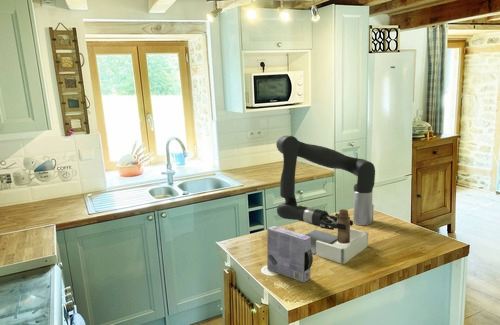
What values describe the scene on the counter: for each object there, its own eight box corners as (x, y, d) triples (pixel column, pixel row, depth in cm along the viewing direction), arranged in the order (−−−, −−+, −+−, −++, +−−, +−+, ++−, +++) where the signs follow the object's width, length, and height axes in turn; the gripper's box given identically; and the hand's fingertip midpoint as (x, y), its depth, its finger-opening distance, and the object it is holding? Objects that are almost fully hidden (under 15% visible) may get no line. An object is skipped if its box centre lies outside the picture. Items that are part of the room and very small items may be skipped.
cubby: (341, 239, 175) (341, 225, 174) (367, 247, 166) (368, 232, 165) (316, 256, 160) (315, 241, 159) (343, 265, 151) (343, 249, 150)
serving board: (314, 231, 186) (314, 229, 186) (339, 238, 176) (339, 236, 176) (287, 247, 170) (287, 244, 170) (313, 255, 161) (313, 253, 161)
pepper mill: (344, 237, 166) (344, 207, 162) (352, 241, 161) (352, 211, 158) (335, 240, 163) (334, 210, 160) (343, 244, 159) (343, 213, 156)
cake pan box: (313, 279, 143) (313, 236, 139) (306, 284, 139) (305, 240, 135) (274, 264, 155) (272, 224, 151) (266, 269, 152) (264, 228, 148)
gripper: (306, 214, 164) (340, 222, 153) (324, 204, 174) (357, 212, 163) (306, 229, 166) (340, 239, 154) (324, 219, 176) (357, 228, 164)
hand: (349, 225), depth 159 cm, fingers closed on pepper mill, 5 cm apart
